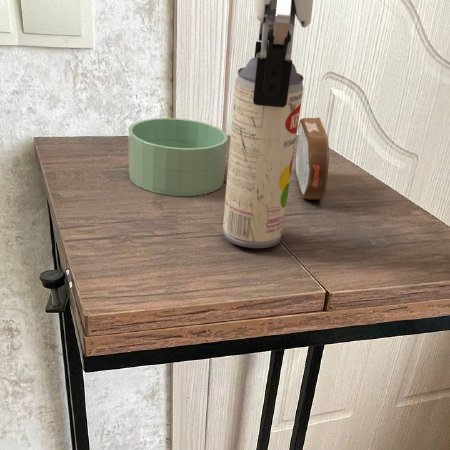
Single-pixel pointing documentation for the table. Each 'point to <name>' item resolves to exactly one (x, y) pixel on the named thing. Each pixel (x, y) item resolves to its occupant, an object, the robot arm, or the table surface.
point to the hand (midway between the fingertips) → (268, 93)
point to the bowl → (176, 156)
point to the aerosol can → (259, 162)
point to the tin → (312, 158)
